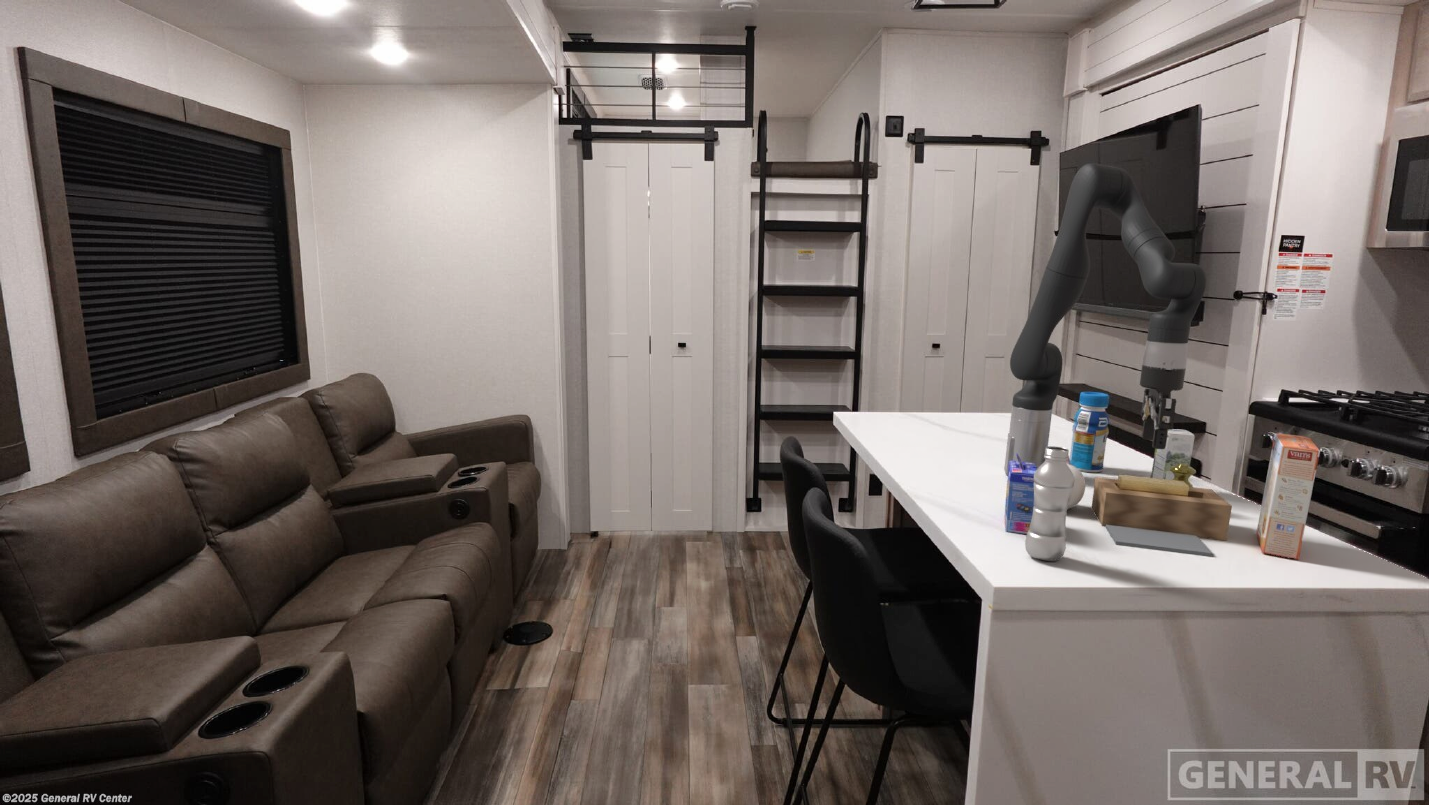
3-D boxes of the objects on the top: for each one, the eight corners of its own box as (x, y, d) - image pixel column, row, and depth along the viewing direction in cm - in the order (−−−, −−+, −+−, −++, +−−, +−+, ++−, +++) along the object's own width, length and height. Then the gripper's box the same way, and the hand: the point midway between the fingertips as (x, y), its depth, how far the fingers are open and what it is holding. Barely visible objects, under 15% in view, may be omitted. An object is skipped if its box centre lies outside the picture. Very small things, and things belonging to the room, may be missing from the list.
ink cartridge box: (1002, 516, 157) (1009, 448, 155) (1031, 520, 155) (1039, 451, 153) (1003, 531, 148) (1011, 459, 145) (1034, 536, 146) (1042, 463, 144)
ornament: (1081, 505, 167) (1088, 452, 164) (1082, 518, 158) (1089, 462, 155) (1031, 498, 171) (1037, 446, 169) (1029, 510, 162) (1035, 456, 160)
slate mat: (1115, 544, 143) (1116, 541, 143) (1105, 527, 152) (1105, 524, 152) (1212, 556, 139) (1213, 553, 138) (1195, 538, 148) (1196, 535, 148)
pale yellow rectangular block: (1118, 507, 156) (1122, 479, 155) (1114, 502, 160) (1118, 474, 159) (1184, 515, 152) (1189, 486, 151) (1179, 509, 156) (1183, 481, 155)
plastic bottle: (1016, 551, 138) (1029, 444, 134) (1052, 551, 138) (1065, 444, 135) (1034, 565, 131) (1047, 453, 128) (1071, 565, 132) (1086, 453, 128)
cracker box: (1301, 561, 138) (1321, 449, 134) (1260, 554, 141) (1279, 444, 137) (1292, 539, 149) (1311, 436, 146) (1255, 533, 152) (1273, 431, 149)
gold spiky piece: (1199, 508, 167) (1206, 464, 166) (1192, 516, 162) (1199, 470, 160) (1162, 501, 172) (1168, 458, 171) (1153, 507, 167) (1160, 463, 165)
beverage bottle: (1063, 463, 203) (1072, 390, 200) (1096, 466, 202) (1106, 392, 198) (1073, 472, 195) (1083, 395, 191) (1108, 474, 194) (1118, 397, 190)
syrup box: (1173, 486, 184) (1182, 428, 182) (1186, 494, 179) (1195, 433, 176) (1149, 485, 185) (1157, 427, 182) (1160, 492, 179) (1169, 432, 177)
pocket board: (1101, 525, 154) (1106, 492, 152) (1091, 508, 165) (1095, 477, 164) (1226, 540, 147) (1232, 506, 146) (1206, 521, 159) (1211, 489, 157)
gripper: (1134, 359, 159) (1124, 435, 162) (1151, 367, 145) (1140, 449, 148) (1175, 362, 157) (1164, 438, 160) (1196, 370, 143) (1184, 453, 146)
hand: (1153, 444), depth 154 cm, fingers open, 8 cm apart
